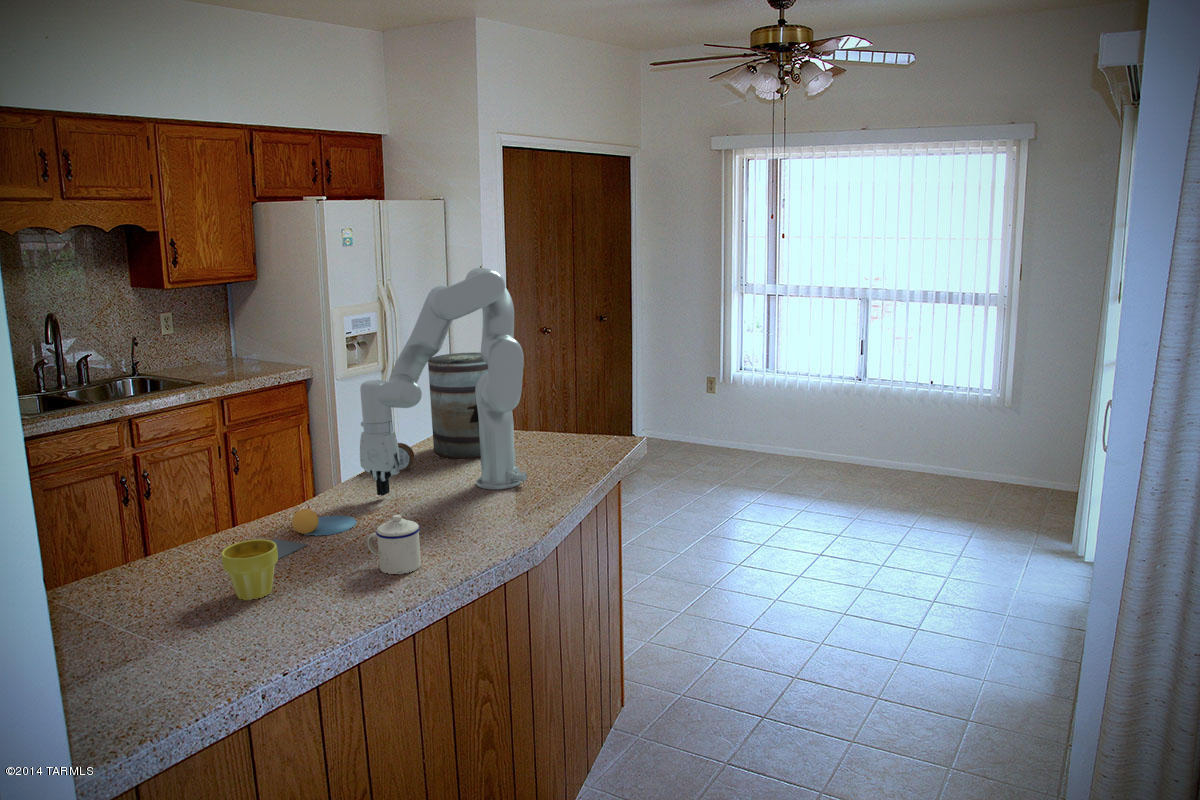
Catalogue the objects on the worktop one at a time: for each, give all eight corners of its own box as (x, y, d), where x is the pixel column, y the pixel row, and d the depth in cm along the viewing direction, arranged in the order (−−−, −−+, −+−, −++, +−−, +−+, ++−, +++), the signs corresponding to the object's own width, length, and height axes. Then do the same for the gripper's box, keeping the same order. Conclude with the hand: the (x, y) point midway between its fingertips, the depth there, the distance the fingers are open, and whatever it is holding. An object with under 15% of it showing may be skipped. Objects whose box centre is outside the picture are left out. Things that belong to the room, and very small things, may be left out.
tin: (415, 469, 264) (413, 442, 262) (412, 472, 261) (410, 444, 259) (367, 469, 266) (364, 442, 264) (363, 472, 262) (361, 444, 261)
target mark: (368, 520, 220) (368, 519, 220) (329, 539, 208) (329, 538, 208) (324, 513, 226) (324, 512, 226) (284, 531, 213) (284, 530, 213)
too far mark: (308, 545, 204) (307, 544, 204) (275, 560, 195) (275, 560, 195) (275, 539, 208) (275, 538, 208) (242, 554, 199) (242, 553, 199)
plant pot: (248, 609, 171) (243, 561, 169) (215, 598, 177) (210, 552, 174) (292, 589, 180) (287, 544, 178) (259, 579, 185) (254, 535, 183)
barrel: (508, 455, 276) (504, 361, 270) (436, 462, 271) (429, 366, 264) (499, 438, 297) (495, 350, 291) (432, 444, 292) (426, 355, 286)
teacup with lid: (429, 561, 193) (426, 510, 190) (409, 577, 184) (405, 524, 182) (380, 556, 196) (376, 506, 194) (358, 572, 188) (354, 520, 185)
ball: (300, 526, 206) (313, 540, 210) (315, 505, 210) (327, 520, 214) (282, 522, 209) (295, 536, 213) (297, 502, 212) (309, 516, 216)
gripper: (346, 428, 232) (352, 495, 236) (392, 432, 226) (397, 501, 229) (364, 422, 239) (370, 487, 242) (410, 426, 232) (414, 492, 236)
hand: (383, 493), depth 236 cm, fingers closed
